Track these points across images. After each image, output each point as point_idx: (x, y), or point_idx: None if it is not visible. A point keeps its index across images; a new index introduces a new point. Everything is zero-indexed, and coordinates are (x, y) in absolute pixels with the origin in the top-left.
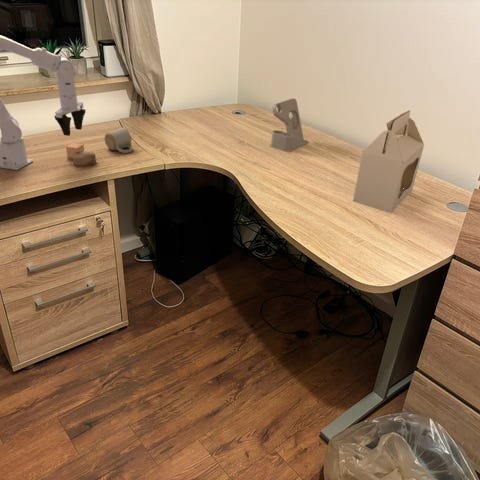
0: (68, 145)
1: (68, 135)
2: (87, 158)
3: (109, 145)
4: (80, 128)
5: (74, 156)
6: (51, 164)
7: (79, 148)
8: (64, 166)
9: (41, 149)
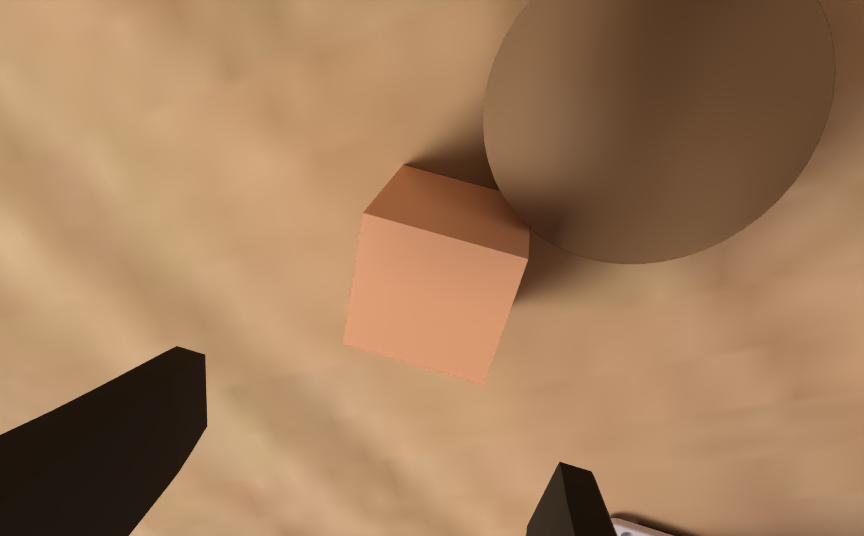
0: (446, 367)
1: (595, 483)
2: (788, 20)
3: None
4: (191, 368)
5: (687, 230)
6: (681, 396)
7: (471, 231)
8: (747, 282)
9: (357, 500)
